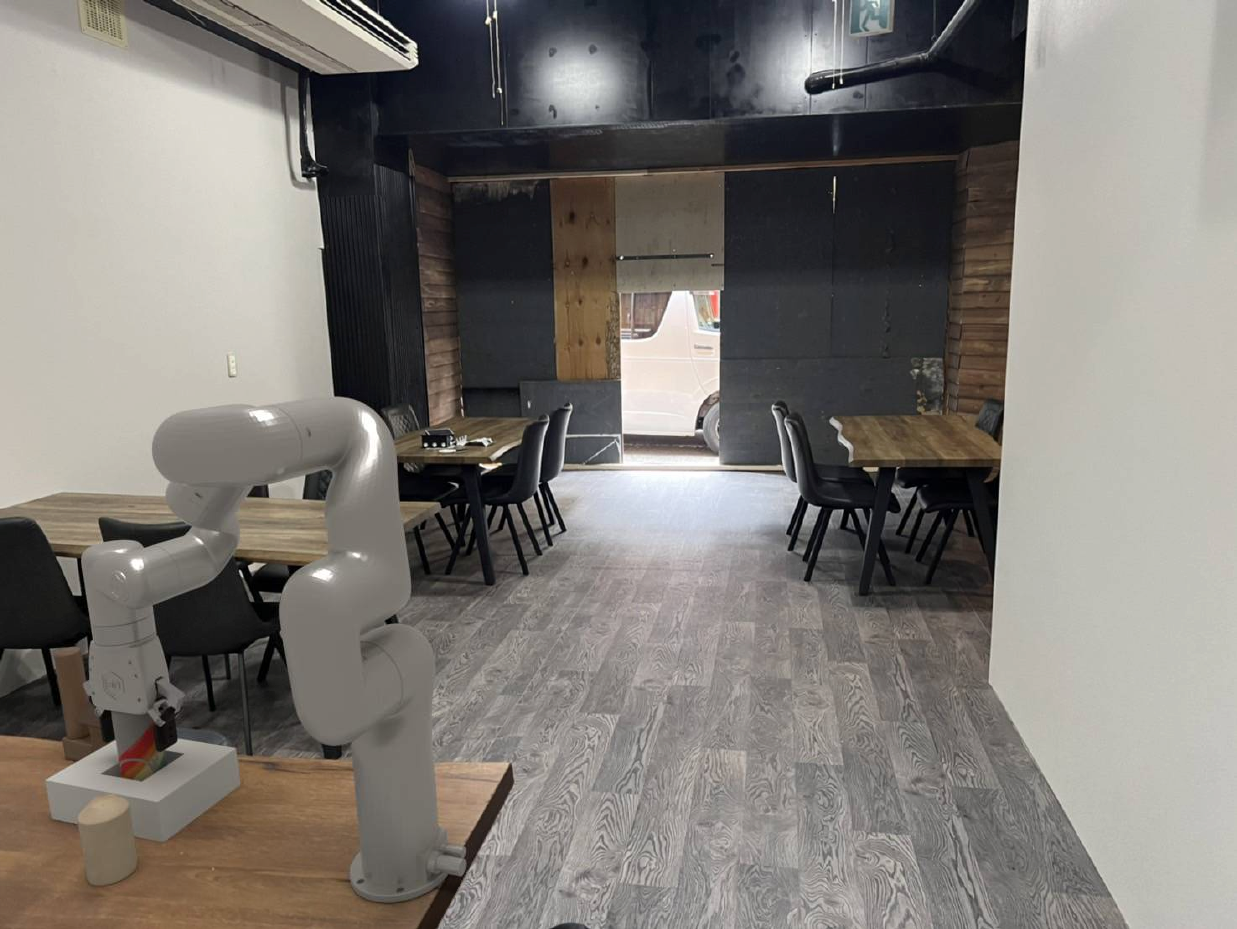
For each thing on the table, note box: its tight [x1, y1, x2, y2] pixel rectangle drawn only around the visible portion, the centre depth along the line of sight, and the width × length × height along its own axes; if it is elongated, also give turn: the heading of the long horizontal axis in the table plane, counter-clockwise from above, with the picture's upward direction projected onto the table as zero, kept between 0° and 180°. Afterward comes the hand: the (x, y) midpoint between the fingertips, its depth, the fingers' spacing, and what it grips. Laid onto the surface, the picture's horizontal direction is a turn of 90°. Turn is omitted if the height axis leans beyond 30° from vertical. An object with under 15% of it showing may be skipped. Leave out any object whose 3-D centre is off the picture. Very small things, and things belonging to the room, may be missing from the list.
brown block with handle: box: [53, 646, 115, 762], centre depth 128 cm, size 4×11×18 cm, turn 67°
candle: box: [77, 794, 139, 887], centre depth 102 cm, size 6×6×10 cm
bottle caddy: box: [45, 738, 241, 844], centre depth 117 cm, size 20×14×6 cm
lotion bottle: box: [111, 701, 167, 782], centre depth 116 cm, size 6×6×20 cm
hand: (140, 742), depth 116 cm, fingers open, 9 cm apart
